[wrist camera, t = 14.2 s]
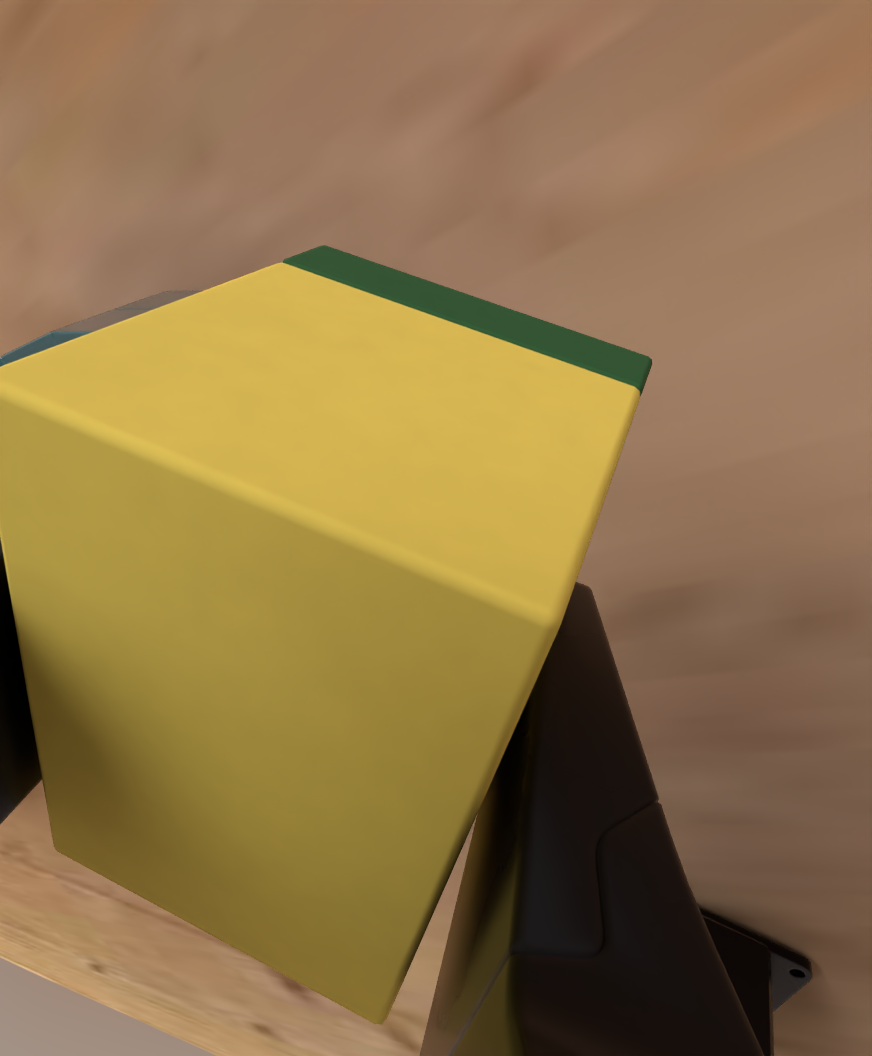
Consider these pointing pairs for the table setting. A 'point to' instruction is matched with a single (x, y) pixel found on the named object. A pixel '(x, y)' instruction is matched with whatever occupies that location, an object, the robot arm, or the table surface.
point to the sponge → (297, 592)
